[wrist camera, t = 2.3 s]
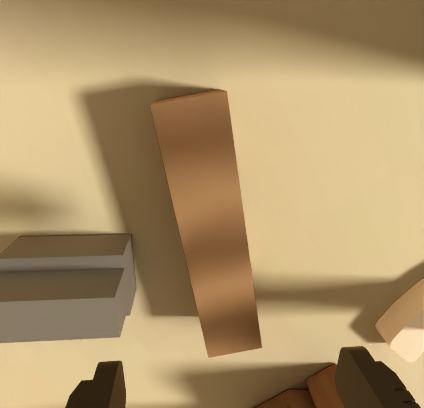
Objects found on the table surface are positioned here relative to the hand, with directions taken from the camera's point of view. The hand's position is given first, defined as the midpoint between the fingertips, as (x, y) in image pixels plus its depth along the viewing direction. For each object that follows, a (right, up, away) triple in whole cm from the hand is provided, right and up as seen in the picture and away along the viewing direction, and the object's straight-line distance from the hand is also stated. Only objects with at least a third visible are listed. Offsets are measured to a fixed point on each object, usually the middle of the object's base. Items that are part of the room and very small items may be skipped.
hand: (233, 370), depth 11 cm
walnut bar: (-1, +5, +12) cm, 13 cm away
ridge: (-11, +1, +12) cm, 17 cm away
